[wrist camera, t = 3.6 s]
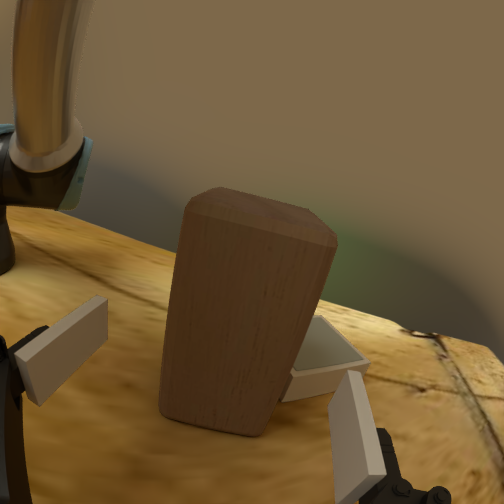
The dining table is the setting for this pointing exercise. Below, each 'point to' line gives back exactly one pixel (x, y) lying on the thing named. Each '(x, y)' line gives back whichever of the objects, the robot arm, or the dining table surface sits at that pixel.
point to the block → (239, 307)
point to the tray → (322, 362)
